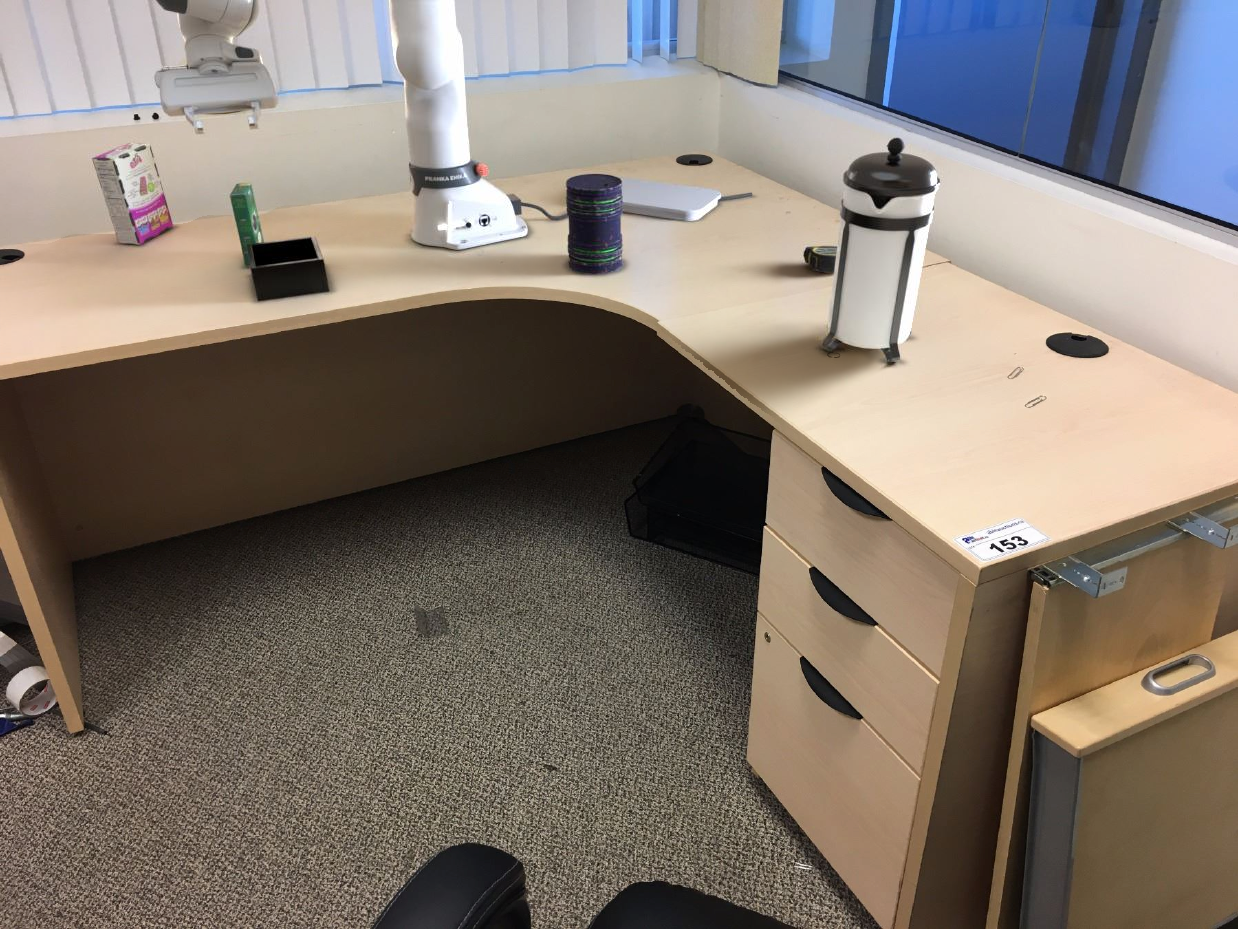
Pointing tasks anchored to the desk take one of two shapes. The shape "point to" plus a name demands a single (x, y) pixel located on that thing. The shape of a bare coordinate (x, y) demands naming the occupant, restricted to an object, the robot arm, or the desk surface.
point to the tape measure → (821, 258)
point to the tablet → (667, 199)
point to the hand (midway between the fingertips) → (227, 129)
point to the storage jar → (594, 223)
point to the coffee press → (880, 249)
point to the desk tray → (287, 268)
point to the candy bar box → (133, 193)
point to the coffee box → (246, 217)
